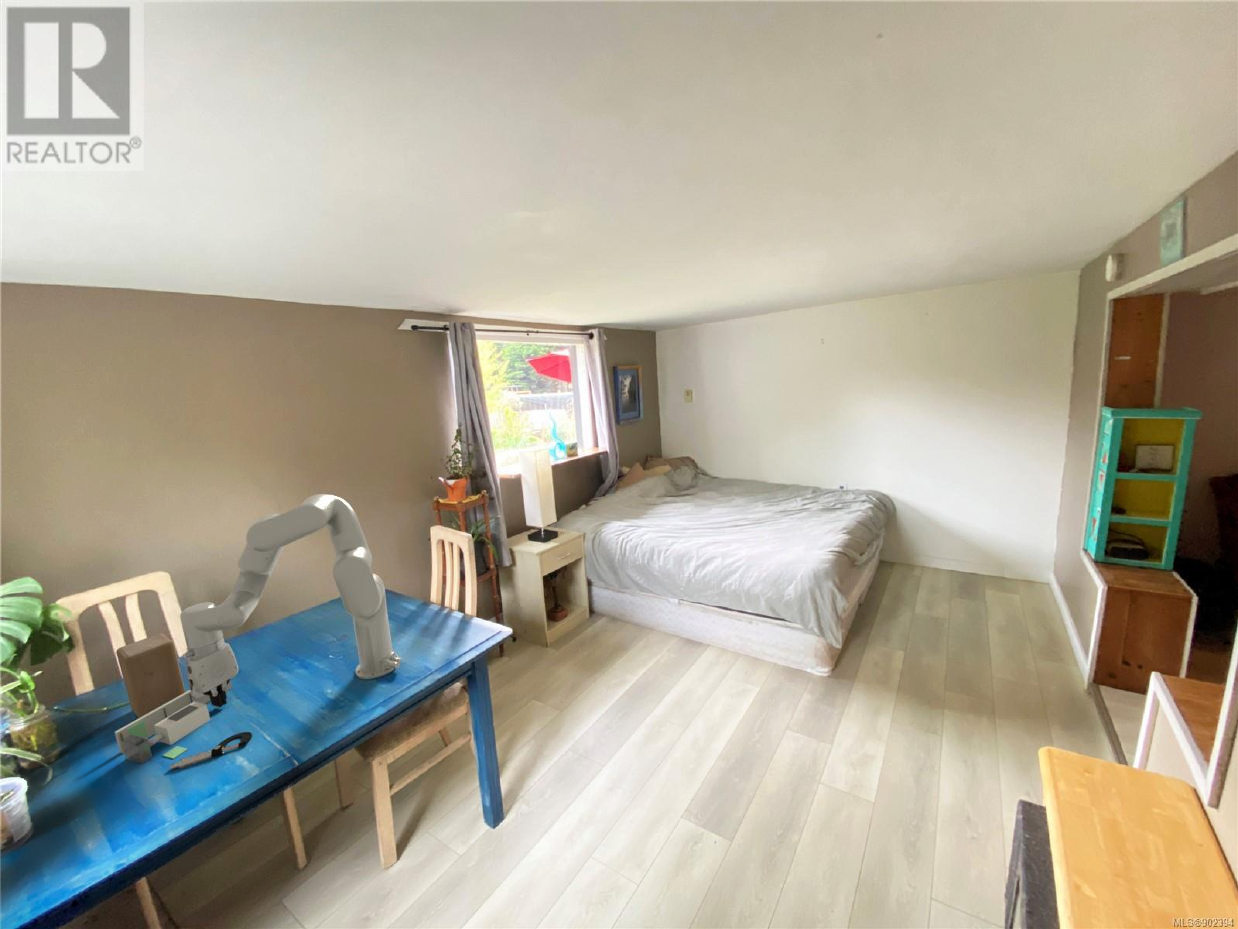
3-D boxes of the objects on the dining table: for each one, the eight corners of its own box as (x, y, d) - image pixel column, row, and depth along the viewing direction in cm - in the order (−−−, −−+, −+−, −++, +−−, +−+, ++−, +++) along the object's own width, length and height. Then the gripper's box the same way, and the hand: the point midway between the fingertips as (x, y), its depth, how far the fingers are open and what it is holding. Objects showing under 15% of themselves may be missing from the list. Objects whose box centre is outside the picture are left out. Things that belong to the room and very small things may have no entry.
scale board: (232, 688, 139) (228, 670, 138) (123, 753, 115) (117, 733, 114) (229, 687, 139) (225, 670, 138) (120, 752, 115) (114, 732, 114)
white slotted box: (210, 720, 125) (206, 704, 124) (156, 754, 114) (151, 736, 113) (198, 717, 127) (194, 701, 126) (143, 750, 116) (138, 733, 115)
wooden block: (141, 723, 125) (123, 658, 122) (131, 710, 130) (114, 648, 127) (188, 701, 133) (173, 640, 130) (177, 690, 139) (163, 631, 135)
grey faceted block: (152, 757, 113) (147, 737, 112) (142, 764, 111) (136, 743, 110) (136, 753, 115) (131, 733, 114) (126, 759, 113) (120, 739, 112)
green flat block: (187, 749, 115) (187, 749, 115) (173, 759, 112) (173, 758, 112) (177, 746, 116) (176, 746, 116) (162, 756, 113) (162, 755, 113)
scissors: (255, 730, 121) (253, 721, 121) (249, 748, 115) (247, 739, 115) (181, 753, 115) (179, 745, 114) (170, 774, 108) (168, 765, 108)
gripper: (184, 665, 119) (199, 726, 122) (244, 634, 133) (256, 689, 136) (165, 661, 121) (180, 721, 124) (226, 631, 135) (238, 686, 138)
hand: (220, 704), depth 130 cm, fingers closed
